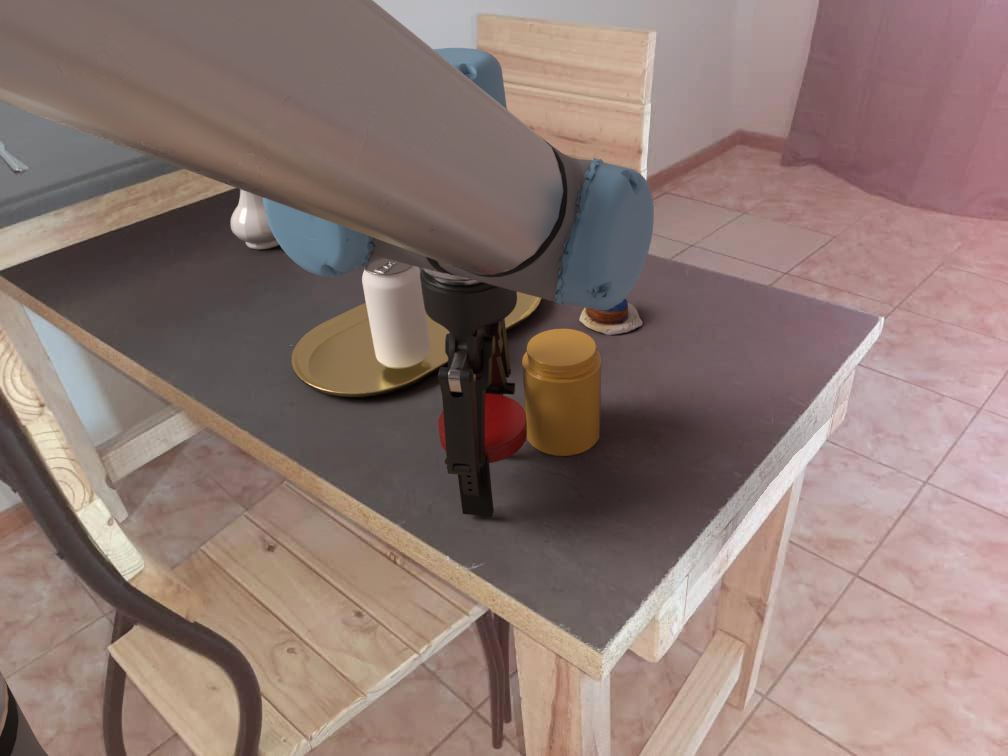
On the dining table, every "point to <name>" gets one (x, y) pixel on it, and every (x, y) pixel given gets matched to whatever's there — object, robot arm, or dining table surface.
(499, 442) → the jar lid
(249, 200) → the flower vase
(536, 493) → the dining table surface
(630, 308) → the dessert
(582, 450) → the jar
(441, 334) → the serving platter
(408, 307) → the can
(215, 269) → the dining table surface
